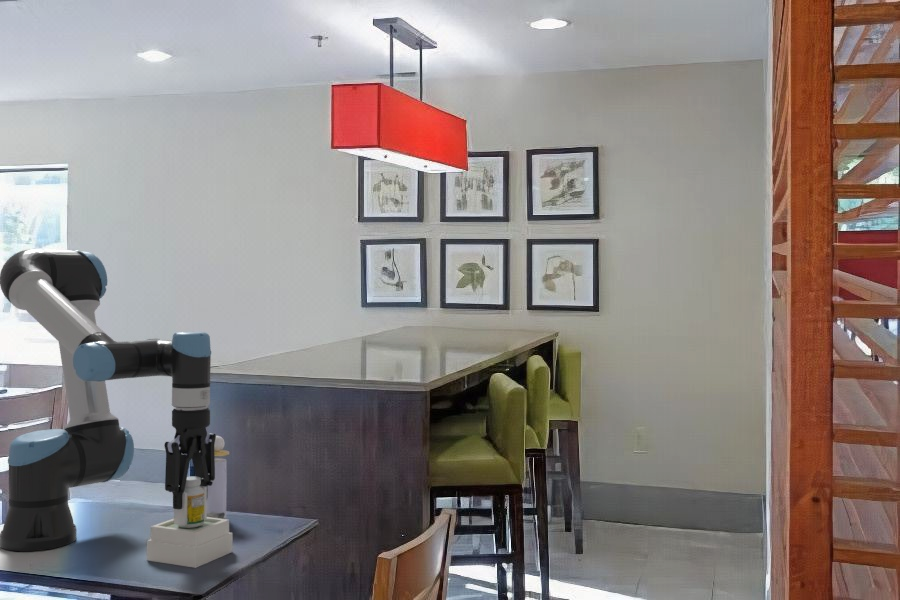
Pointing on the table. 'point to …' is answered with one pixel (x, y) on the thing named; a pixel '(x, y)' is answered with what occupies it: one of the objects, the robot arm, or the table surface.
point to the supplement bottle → (194, 502)
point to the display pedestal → (189, 542)
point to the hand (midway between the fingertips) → (190, 520)
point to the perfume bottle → (218, 480)
